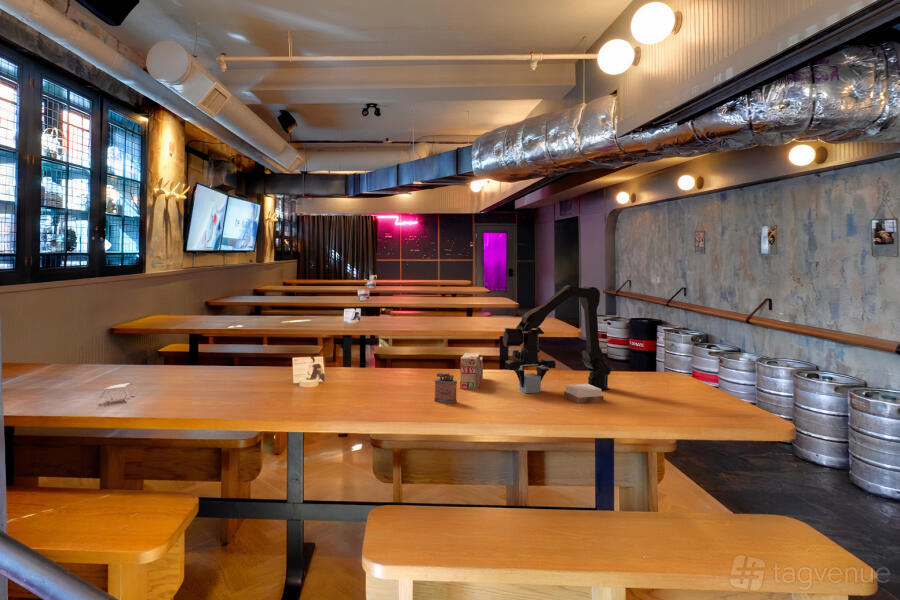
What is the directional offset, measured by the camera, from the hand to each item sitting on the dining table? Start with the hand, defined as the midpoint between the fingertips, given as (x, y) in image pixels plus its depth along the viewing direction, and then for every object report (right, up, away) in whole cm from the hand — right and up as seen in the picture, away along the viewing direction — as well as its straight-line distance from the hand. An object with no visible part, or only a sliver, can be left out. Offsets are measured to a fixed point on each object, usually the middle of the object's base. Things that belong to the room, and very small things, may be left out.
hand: (529, 386), depth 202 cm
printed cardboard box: (-21, -1, +13) cm, 25 cm away
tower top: (+18, -1, -11) cm, 21 cm away
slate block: (0, -2, 0) cm, 2 cm away
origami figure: (-143, -2, -18) cm, 144 cm away
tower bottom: (+18, -3, -10) cm, 21 cm away
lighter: (-32, -3, -16) cm, 36 cm away
